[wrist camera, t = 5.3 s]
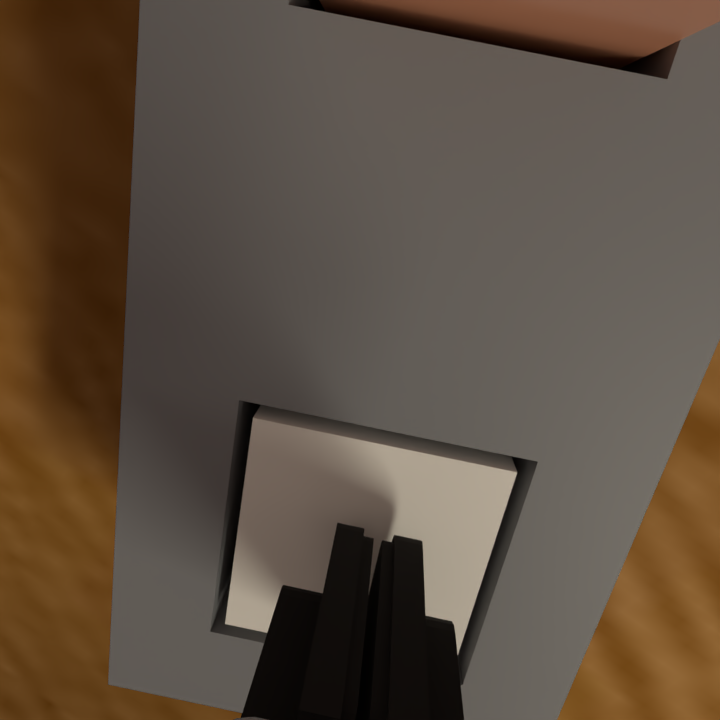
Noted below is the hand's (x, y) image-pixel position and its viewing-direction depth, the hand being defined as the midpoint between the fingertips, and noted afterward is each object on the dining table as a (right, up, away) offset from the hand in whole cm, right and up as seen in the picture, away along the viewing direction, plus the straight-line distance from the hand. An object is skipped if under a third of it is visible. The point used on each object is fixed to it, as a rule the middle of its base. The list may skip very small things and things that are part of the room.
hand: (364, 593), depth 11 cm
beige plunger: (0, +3, +6) cm, 7 cm away
